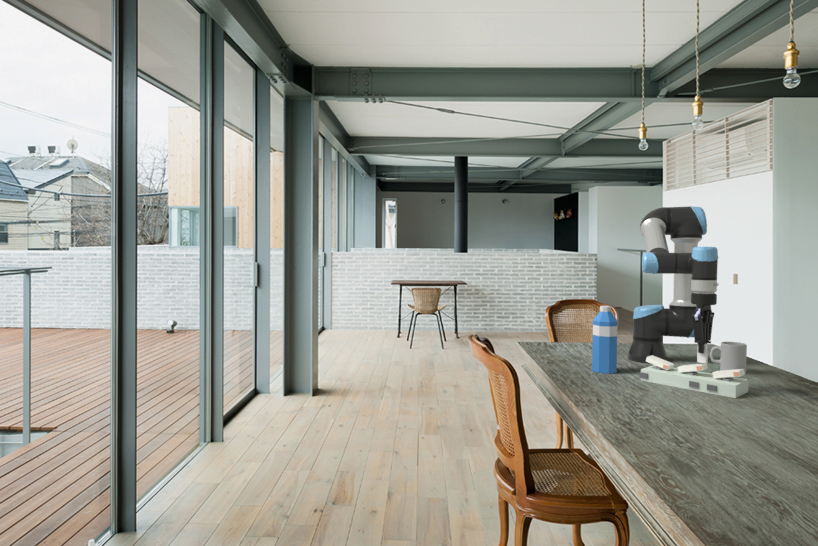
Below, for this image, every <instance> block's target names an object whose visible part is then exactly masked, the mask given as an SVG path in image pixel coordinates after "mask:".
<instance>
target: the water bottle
mask: <svg viewBox="0 0 818 546" xmlns="http://www.w3.org/2000/svg"><path fill="white" fill-rule="evenodd" d="M591 349H592V353H591V354H592V356H591V357H592V359H591V360H592V361H591V367H592V368H591V371H592V372H594V373H598V374H608V375H611V374H617V367H618V366H617V365H618V364H617V361H618V319H617V318H616V316H615V315H614V314H613V312H612V306H611V305H599V312H598V314H597V315H596V316H595V317H594V319H592V348H591ZM610 373H611V374H610Z"/></svg>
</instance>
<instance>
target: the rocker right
mask: <svg viewBox="0 0 818 546" xmlns="http://www.w3.org/2000/svg"><path fill="white" fill-rule="evenodd" d="M711 374H713V378H724V377H735V378H742V377H743V376H745V375H746V374H745V372H744V369H735V370H720V369H719V370H716V371H712V373H711Z"/></svg>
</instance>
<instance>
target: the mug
mask: <svg viewBox="0 0 818 546" xmlns="http://www.w3.org/2000/svg"><path fill="white" fill-rule="evenodd" d="M747 346H748V345H747V343H745V342H744V343H742V342H739V341H738V342H737V341H722V342H721V343H720V345H716V346H713V347H711V349H710V351H709V358H710V361H711V362H712V363H713V364H716V365H719V371H720V370H735V369H744V372H745V375H746V374H747V354H748V353H747V351H748V348H747ZM715 351H719V352H720V358H719V359H715V358H714V352H715Z"/></svg>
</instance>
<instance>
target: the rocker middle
mask: <svg viewBox="0 0 818 546" xmlns="http://www.w3.org/2000/svg"><path fill="white" fill-rule="evenodd" d="M676 368H678V372H689V371H698V372H704V371H706V370H708V369H709V367H708V362H707V363H696V364H695V363H694V364H682V365H680V366H677V367H676Z"/></svg>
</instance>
